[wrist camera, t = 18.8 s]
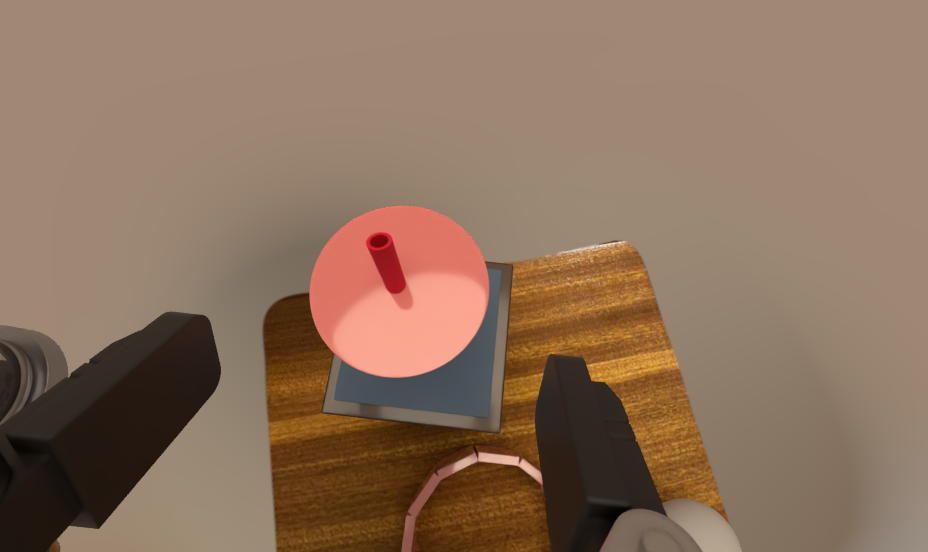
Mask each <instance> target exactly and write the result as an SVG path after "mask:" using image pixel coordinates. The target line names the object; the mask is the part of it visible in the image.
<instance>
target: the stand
mask: <svg viewBox="0 0 928 552" xmlns="http://www.w3.org/2000/svg"><path fill="white" fill-rule="evenodd" d="M485 264H486V268H487V269H495V270H502V274H501V286H500V297H499V309H498V320H497V332H496V343H495V355H494V367H493V378H492V390H491V401H490V413H489V418H483V417H475V416H466V415H457V414H449V413H440V412H432V411H423V410H414V409H406V408H397V407H388V406H380V405H371V404H362V403H354V402H345V401H337V400H334V394H335V389H336V384H337V379H338V374H339V369H340V364H341V359H340V358H339V357H338V356H337V355H336V354H335V353H333V358H332V363H331V368H330V372H329V377H328V382H327V387H326V392H325V397H324V402H323V406H322V413H324V414H332V415H341V416H350V417H358V418H367V419H376V420H384V421H393V422H401V423H410V424H419V425H427V426H436V427H445V428H453V429H462V430H470V431H479V432H488V433H496V434H499V433H500V429H501V416H502V404H503V391H504V378H505V365H506V352H507V339H508V326H509V314H510V301H511V288H512V275H513V265H512V264H503V263H495V262H486V261H485Z"/></svg>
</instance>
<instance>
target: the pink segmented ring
mask: <svg viewBox="0 0 928 552" xmlns="http://www.w3.org/2000/svg"><path fill="white" fill-rule="evenodd" d="M476 462H485V463H494V464H503V465H511V466H518V467H520V468H521V469H522V470H523V471H525V472H526V473H527V474H529V475H530V476H531V477H532V478H534V479H535V480H536V481H537V482H538V485H539V487H540V489H541V491H542V494H543V496H544V490H543V483H542V475H541V472H540V471H539V470H538V469H536V468H535V467H534V466H533V465H531V464H530V463H529V462H527V461H526V460H525V459H523V458H522V457H521V456H519V455H518V454H517V453H516V452H514V451H513V450H510V449H509V448H502V447H493V446H485V445H476V444H474V447H472V445H470V446H467V447H465V448H463V449H461V450H459V451H457V452H455V453H453V454H451V455H449V456H447V457H444V458H442V459H440V460H439V462H438V463H437V462H436V464H435V465H434V466H433V468H432V469H431V471H430V472H429V474H428V475H427V477H426V478H425V480H424V481H423V482H422V484H421V485H420V487H419V488H418V490H417V491H416V493H415V494H414V497H413V499H412V502H411V504H410V507H409V510H408V512H407V515H406V520H405V527H404V535H403V542H402V549H401V552H420V549H419V547H418V544H417V541H416V535H417V527H418V519H419V511H420V510H421V508H422V507H423V506H424V504H425V503H426V501H427V500H428V498H429V497H430V495H431V494H432V492H433V491H434V489H435V488H436V486H437V485H438V483H439V482H440V480H441V479H444V478H446V477H448V476H450V475H452V474H454V473H456V472H458V471H460V470H462V469H464V468H466V467H468V466H470V465H472V464H474V463H476ZM550 552H552V551H551V544H550Z"/></svg>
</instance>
